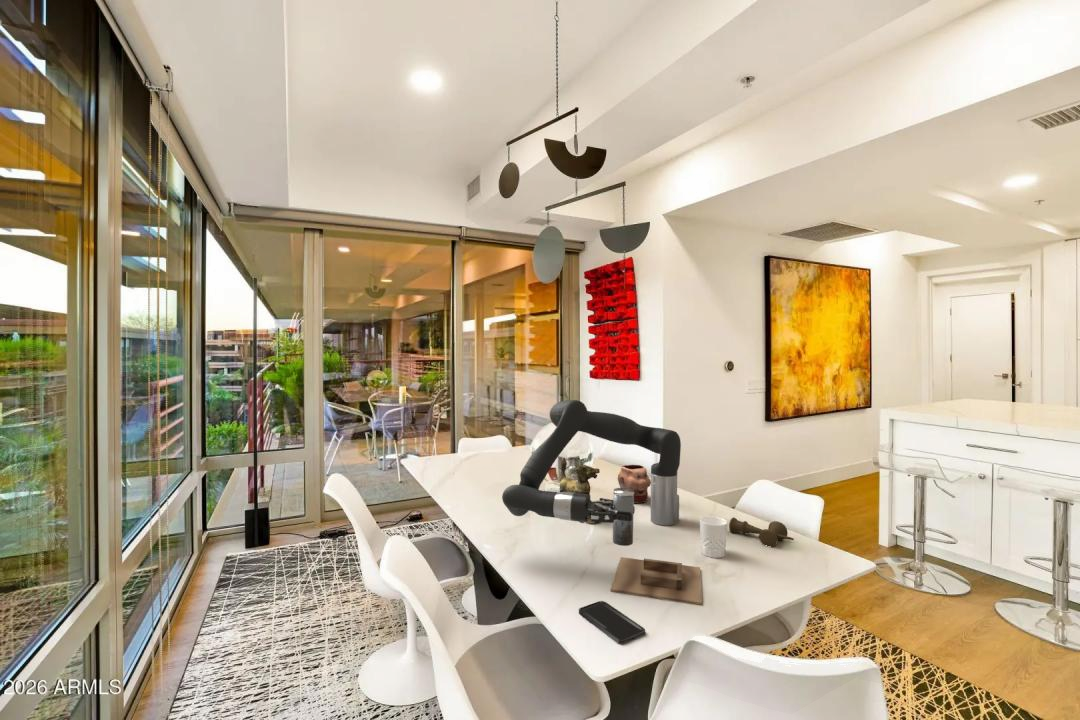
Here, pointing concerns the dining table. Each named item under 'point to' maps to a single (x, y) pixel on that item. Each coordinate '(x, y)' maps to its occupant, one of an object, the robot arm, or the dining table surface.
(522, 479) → the robot arm
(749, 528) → the kendama
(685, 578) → the walnut bracket
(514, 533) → the dining table surface
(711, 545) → the white cup
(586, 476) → the figurine
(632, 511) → the graphite canister
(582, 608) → the phone
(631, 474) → the decorative planter
